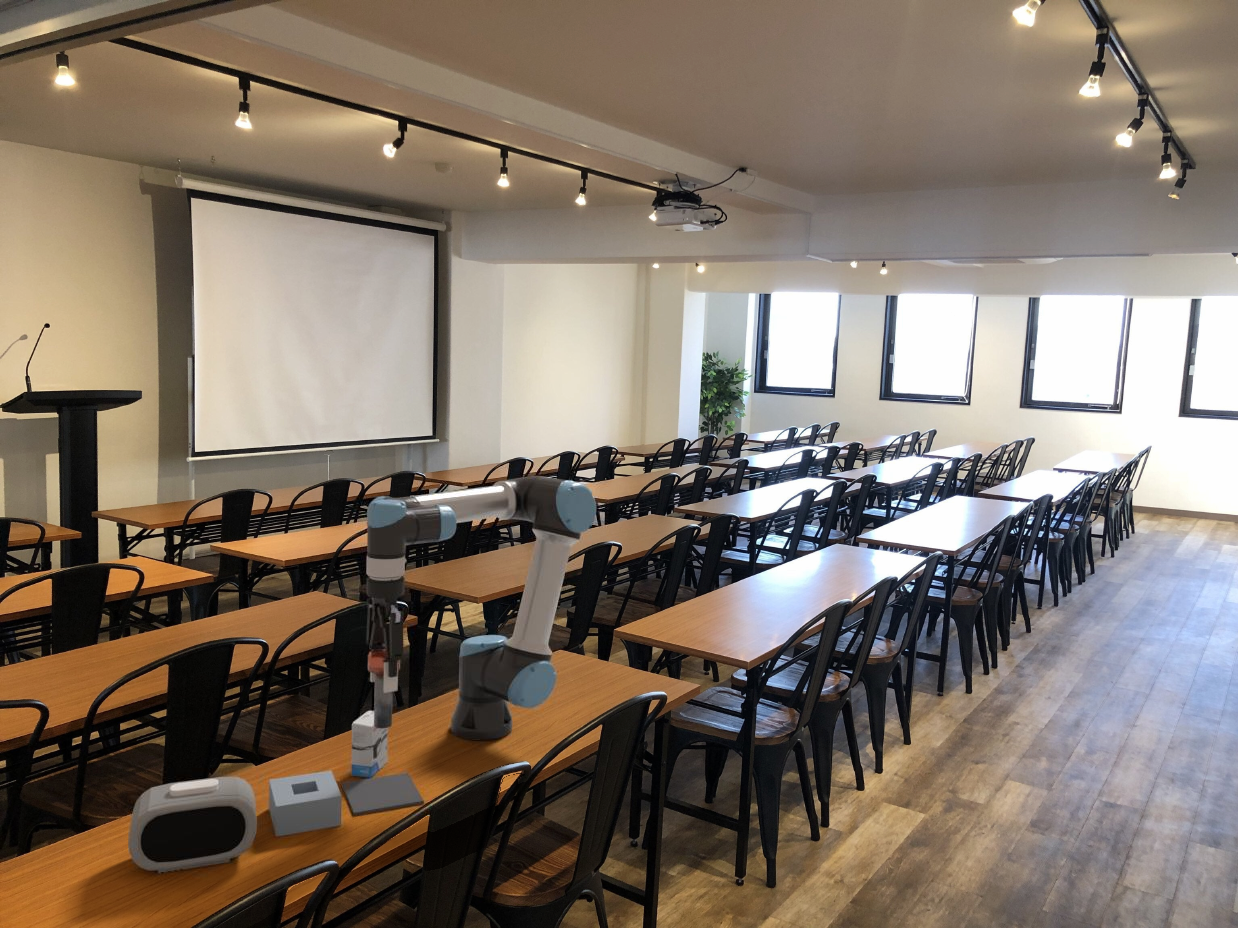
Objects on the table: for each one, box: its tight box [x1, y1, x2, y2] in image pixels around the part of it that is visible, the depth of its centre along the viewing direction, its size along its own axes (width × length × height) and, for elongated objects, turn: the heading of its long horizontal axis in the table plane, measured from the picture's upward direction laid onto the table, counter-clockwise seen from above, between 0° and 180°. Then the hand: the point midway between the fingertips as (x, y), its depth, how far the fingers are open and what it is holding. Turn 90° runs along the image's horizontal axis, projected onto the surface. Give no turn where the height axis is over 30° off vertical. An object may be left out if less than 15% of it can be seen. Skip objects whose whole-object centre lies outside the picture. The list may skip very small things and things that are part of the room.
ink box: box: [350, 710, 389, 779], centre depth 205 cm, size 8×5×12 cm, turn 168°
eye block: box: [268, 770, 343, 838], centre depth 183 cm, size 12×12×6 cm
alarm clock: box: [127, 776, 258, 874], centre depth 167 cm, size 21×10×13 cm, turn 114°
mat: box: [341, 772, 425, 816], centre depth 194 cm, size 14×14×1 cm
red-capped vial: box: [367, 648, 401, 728], centre depth 191 cm, size 6×6×16 cm
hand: (383, 685), depth 191 cm, fingers closed on red-capped vial, 6 cm apart
